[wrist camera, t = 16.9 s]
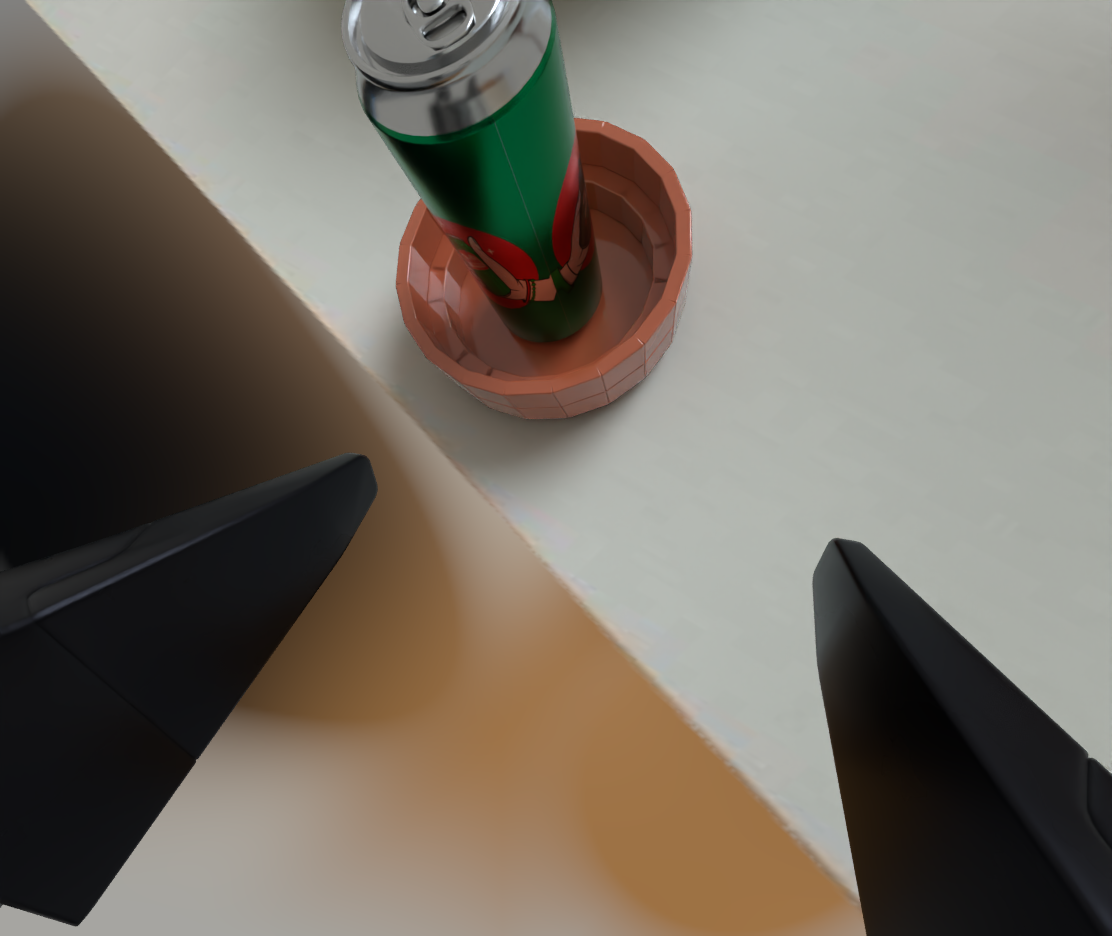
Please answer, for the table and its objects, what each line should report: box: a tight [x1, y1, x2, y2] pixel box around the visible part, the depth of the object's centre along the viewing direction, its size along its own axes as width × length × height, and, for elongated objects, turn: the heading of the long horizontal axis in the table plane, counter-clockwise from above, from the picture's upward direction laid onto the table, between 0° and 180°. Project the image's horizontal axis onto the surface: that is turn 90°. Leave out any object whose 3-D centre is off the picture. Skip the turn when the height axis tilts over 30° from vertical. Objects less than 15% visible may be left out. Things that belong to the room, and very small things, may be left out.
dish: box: [396, 118, 692, 419], centre depth 20 cm, size 12×12×4 cm
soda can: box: [341, 0, 602, 343], centre depth 15 cm, size 5×5×12 cm
